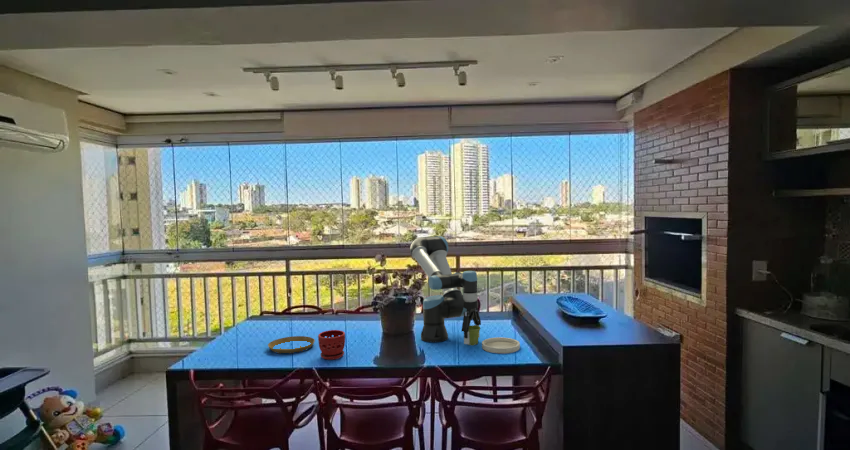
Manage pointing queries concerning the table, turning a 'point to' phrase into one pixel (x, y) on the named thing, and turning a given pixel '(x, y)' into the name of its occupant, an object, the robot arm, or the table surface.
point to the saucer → (500, 345)
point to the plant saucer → (288, 339)
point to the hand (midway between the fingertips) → (472, 340)
